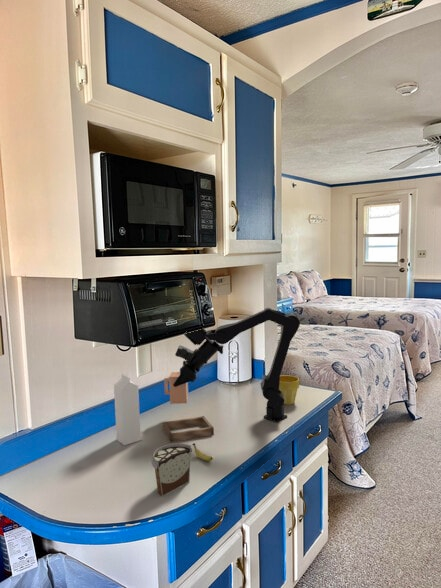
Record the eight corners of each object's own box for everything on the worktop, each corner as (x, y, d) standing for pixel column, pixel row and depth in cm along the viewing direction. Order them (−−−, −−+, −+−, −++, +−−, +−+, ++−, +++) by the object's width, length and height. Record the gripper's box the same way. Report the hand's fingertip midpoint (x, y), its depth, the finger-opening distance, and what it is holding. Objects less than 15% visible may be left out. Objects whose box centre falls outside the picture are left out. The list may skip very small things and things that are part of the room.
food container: (178, 472, 124) (177, 438, 123) (193, 480, 120) (192, 445, 119) (143, 490, 115) (141, 454, 114) (157, 499, 111) (156, 461, 110)
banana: (191, 456, 134) (191, 444, 133) (195, 454, 135) (195, 442, 134) (210, 465, 128) (210, 452, 128) (214, 463, 129) (214, 450, 129)
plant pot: (287, 395, 185) (287, 373, 184) (304, 402, 176) (304, 379, 175) (268, 400, 180) (268, 377, 179) (284, 408, 171) (284, 384, 170)
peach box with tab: (188, 397, 165) (187, 371, 164) (186, 403, 159) (185, 376, 158) (166, 398, 166) (165, 372, 165) (163, 403, 160) (162, 376, 159)
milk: (124, 445, 142) (120, 379, 139) (116, 439, 146) (112, 375, 144) (141, 440, 145) (138, 375, 143) (133, 434, 150) (129, 371, 147)
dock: (204, 422, 159) (203, 416, 158) (213, 434, 148) (213, 427, 148) (162, 429, 154) (162, 422, 153) (169, 442, 143) (169, 434, 143)
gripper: (190, 333, 169) (163, 361, 171) (185, 344, 151) (154, 375, 152) (211, 353, 170) (184, 381, 171) (208, 366, 151) (178, 397, 153)
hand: (175, 383), depth 162 cm, fingers closed on peach box with tab, 6 cm apart
